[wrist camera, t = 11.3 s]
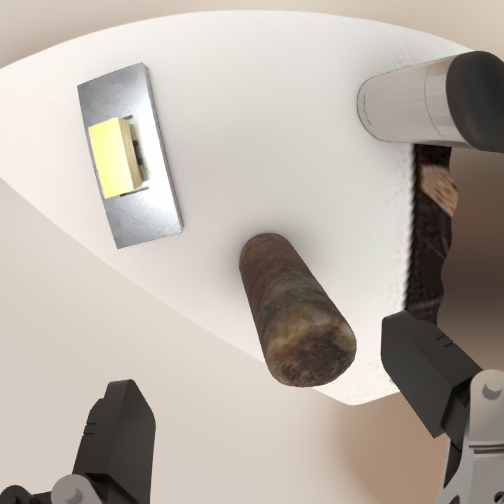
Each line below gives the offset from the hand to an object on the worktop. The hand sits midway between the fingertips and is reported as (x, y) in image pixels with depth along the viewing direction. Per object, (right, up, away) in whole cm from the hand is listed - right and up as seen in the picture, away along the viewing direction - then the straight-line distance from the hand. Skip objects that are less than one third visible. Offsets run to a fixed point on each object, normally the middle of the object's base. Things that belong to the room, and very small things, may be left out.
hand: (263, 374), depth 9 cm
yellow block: (-14, +15, +24) cm, 32 cm away
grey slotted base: (-15, +15, +25) cm, 32 cm away
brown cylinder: (+1, +3, +32) cm, 32 cm away
